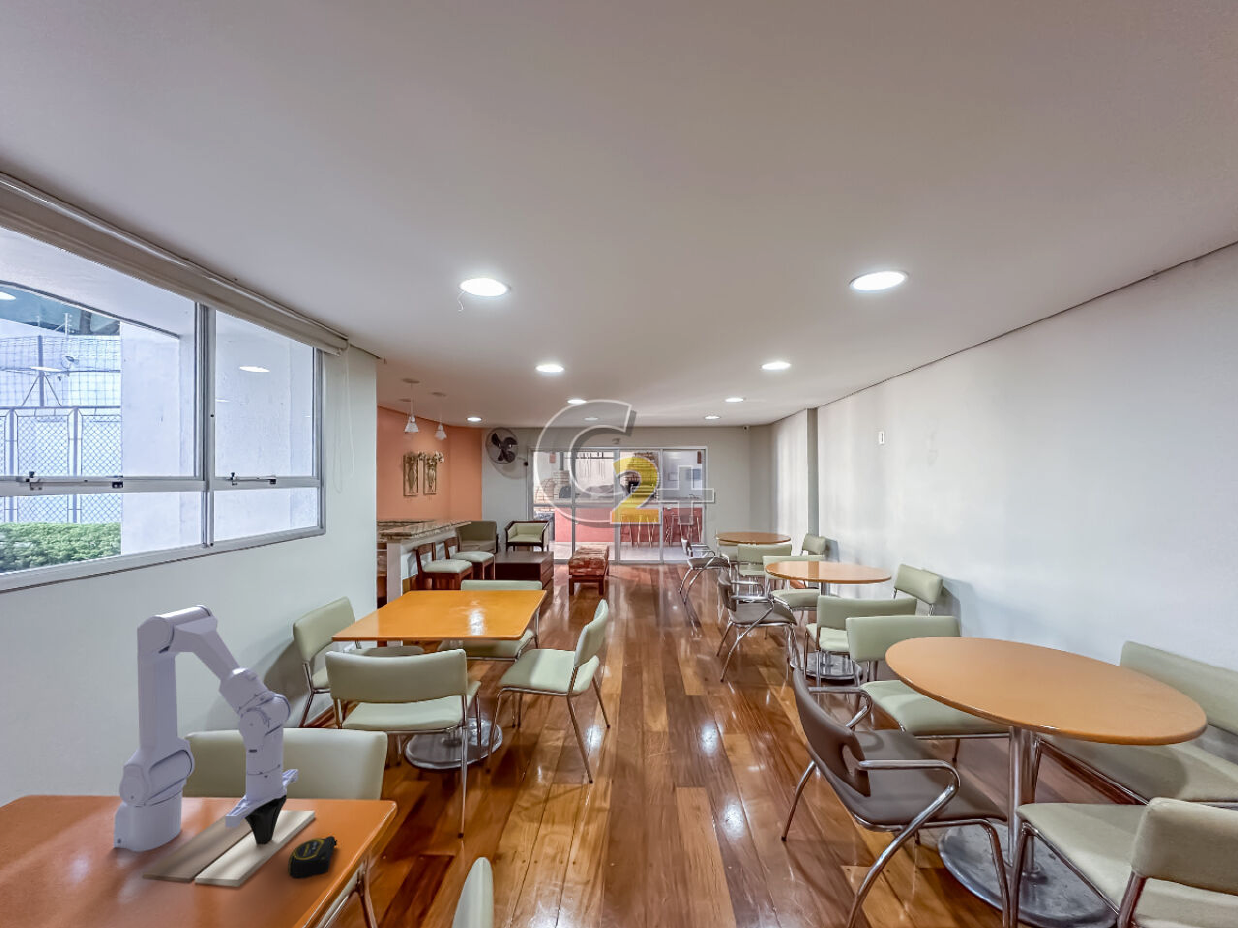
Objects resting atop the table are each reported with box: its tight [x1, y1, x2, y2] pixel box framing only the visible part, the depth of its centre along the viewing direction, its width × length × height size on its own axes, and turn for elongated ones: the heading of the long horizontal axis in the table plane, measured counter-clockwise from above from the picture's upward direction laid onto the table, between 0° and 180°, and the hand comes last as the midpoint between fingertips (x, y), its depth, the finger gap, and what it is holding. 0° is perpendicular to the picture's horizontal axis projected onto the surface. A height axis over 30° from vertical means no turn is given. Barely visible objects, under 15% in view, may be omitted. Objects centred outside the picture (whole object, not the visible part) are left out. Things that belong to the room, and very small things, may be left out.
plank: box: [194, 809, 316, 888], centre depth 93 cm, size 8×18×2 cm, turn 174°
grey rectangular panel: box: [142, 809, 252, 883], centre depth 94 cm, size 9×18×2 cm, turn 173°
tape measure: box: [287, 835, 338, 880], centre depth 89 cm, size 7×7×4 cm
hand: (264, 841), depth 93 cm, fingers closed, pressing on plank
